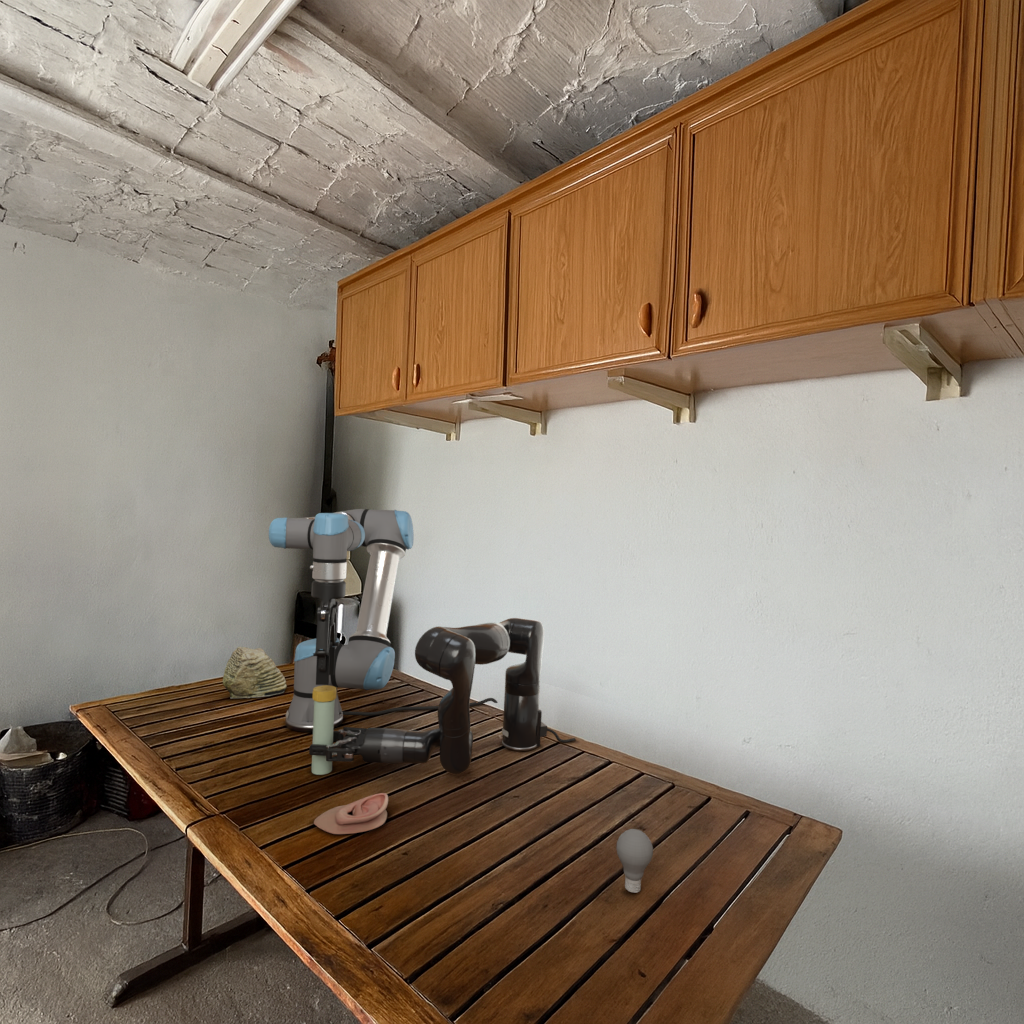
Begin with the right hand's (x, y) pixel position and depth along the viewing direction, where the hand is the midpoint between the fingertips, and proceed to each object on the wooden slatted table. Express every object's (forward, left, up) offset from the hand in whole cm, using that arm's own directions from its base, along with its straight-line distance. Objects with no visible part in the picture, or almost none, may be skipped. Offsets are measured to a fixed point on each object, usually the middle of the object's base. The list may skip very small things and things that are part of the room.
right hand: (315, 742), depth 146 cm
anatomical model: (-4, +26, -7) cm, 27 cm away
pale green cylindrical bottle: (-1, +1, -7) cm, 7 cm away
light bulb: (-43, +64, -7) cm, 78 cm away
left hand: (-1, +1, +15) cm, 15 cm away
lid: (-1, 0, +12) cm, 12 cm away
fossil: (+11, -62, -7) cm, 63 cm away
